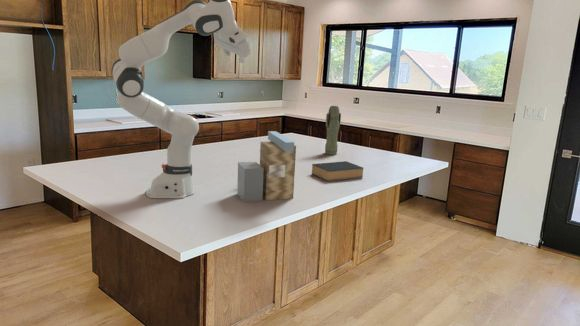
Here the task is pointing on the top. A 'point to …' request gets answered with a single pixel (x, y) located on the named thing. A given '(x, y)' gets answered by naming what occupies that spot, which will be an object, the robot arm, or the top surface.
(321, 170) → the book
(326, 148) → the olive piece
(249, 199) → the grey rectangular block
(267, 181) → the carton
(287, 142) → the light blue bar
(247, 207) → the top surface
